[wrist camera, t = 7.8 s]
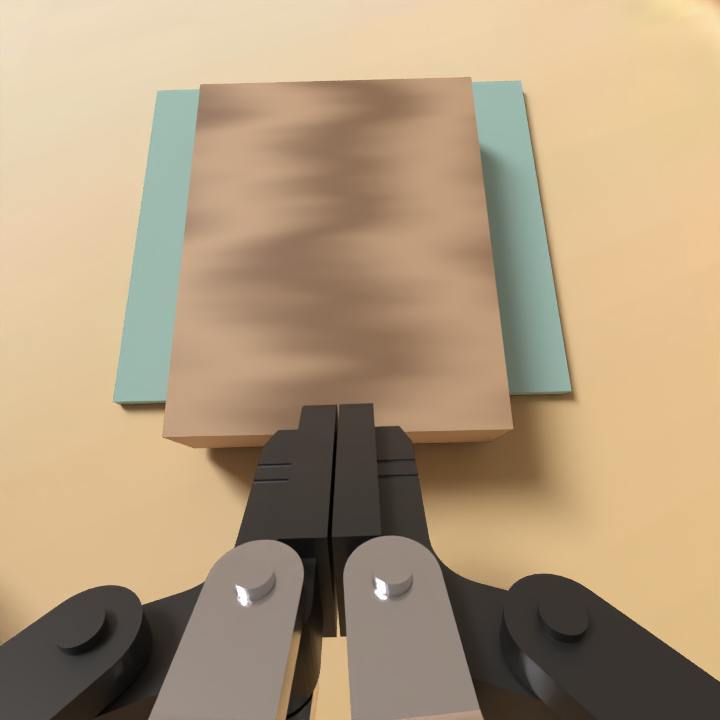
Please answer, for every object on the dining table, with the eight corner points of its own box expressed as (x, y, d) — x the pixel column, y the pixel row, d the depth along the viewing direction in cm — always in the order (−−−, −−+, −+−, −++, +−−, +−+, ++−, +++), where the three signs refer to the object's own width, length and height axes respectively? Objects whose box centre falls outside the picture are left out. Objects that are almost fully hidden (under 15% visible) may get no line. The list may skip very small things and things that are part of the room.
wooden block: (162, 437, 13) (200, 84, 17) (194, 448, 16) (221, 137, 20) (513, 429, 13) (470, 76, 17) (490, 441, 16) (457, 131, 20)
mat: (118, 404, 17) (113, 401, 16) (161, 98, 21) (157, 90, 20) (566, 393, 17) (571, 391, 16) (518, 88, 21) (520, 80, 20)
